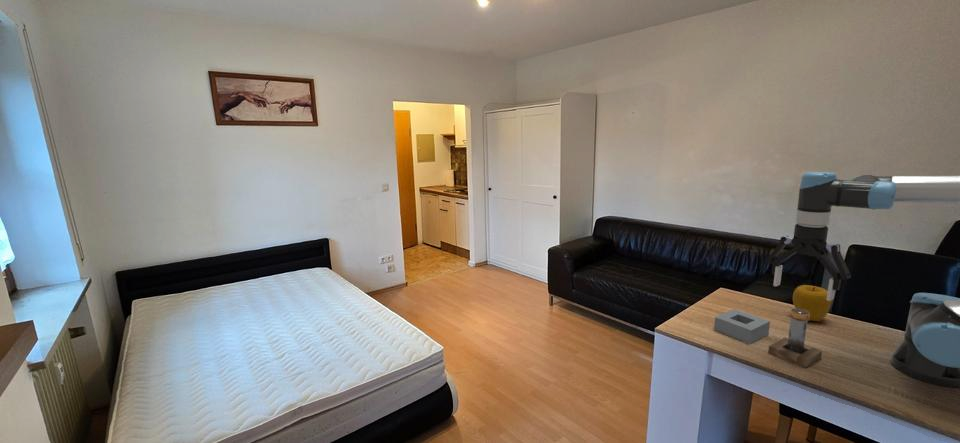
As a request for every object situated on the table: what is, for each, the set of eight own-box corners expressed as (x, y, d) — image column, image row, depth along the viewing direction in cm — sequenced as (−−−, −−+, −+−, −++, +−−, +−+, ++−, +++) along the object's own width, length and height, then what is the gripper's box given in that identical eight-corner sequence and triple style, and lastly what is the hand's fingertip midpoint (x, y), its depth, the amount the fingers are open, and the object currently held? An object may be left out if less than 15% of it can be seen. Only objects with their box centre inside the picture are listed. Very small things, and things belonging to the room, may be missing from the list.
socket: (768, 334, 135) (770, 321, 134) (749, 344, 130) (751, 330, 129) (732, 321, 146) (734, 309, 145) (714, 329, 140) (715, 317, 139)
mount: (821, 357, 120) (822, 350, 120) (805, 367, 116) (806, 360, 115) (783, 344, 129) (784, 337, 128) (768, 352, 124) (769, 345, 124)
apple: (783, 314, 149) (787, 283, 147) (804, 310, 152) (808, 279, 149) (814, 327, 139) (819, 293, 136) (836, 322, 142) (841, 289, 139)
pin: (806, 356, 121) (812, 312, 118) (799, 361, 119) (805, 316, 116) (789, 350, 125) (795, 307, 122) (782, 354, 123) (787, 310, 120)
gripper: (874, 230, 105) (861, 303, 109) (770, 216, 126) (763, 277, 131) (862, 234, 101) (850, 309, 106) (758, 219, 123) (751, 282, 127)
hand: (802, 292), depth 118 cm, fingers open, 13 cm apart
